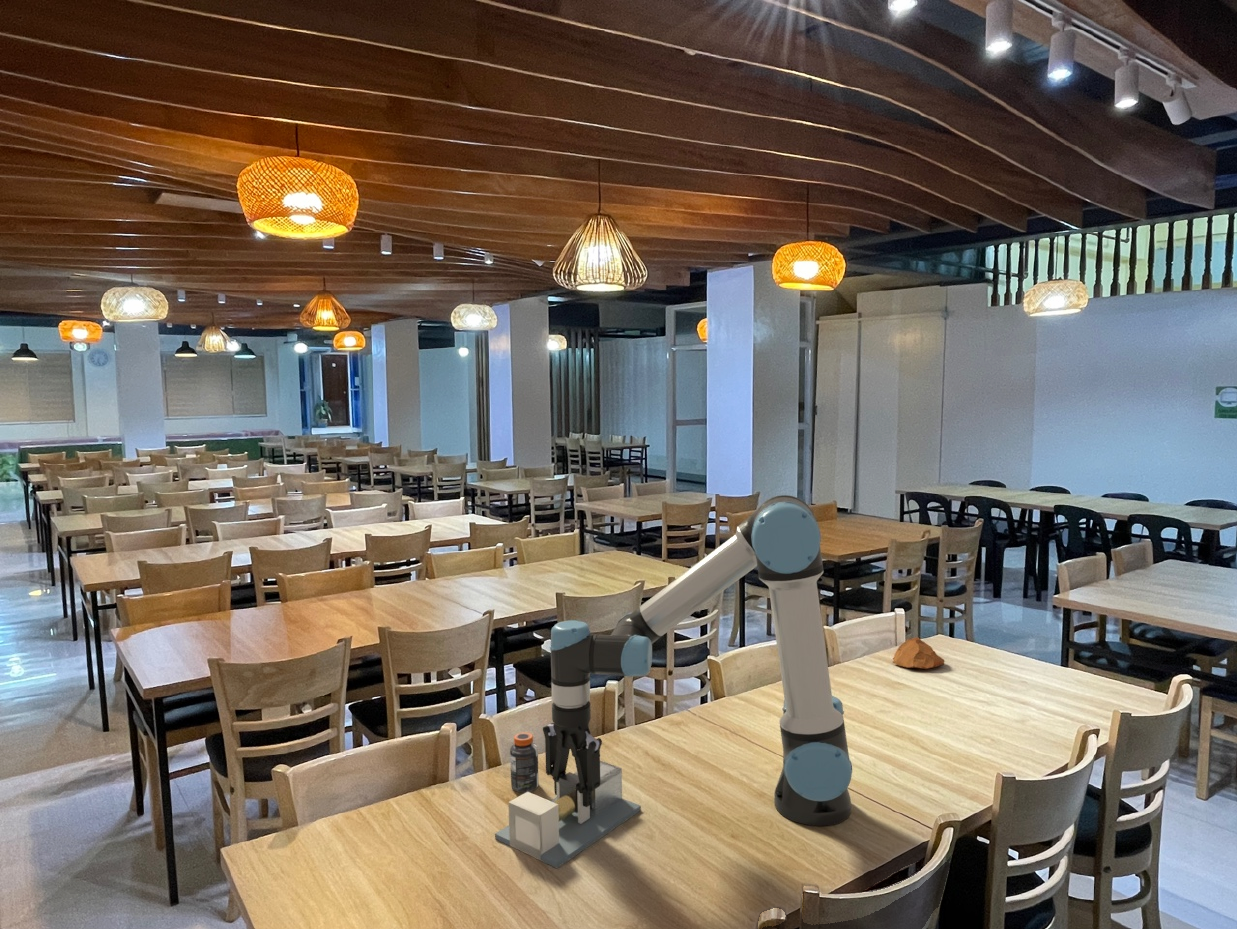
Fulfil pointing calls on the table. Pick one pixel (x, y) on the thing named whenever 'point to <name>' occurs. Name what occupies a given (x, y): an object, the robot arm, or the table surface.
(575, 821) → the board
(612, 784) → the sleeve
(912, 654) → the stone
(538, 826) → the socket
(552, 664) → the robot arm
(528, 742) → the pill bottle
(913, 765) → the table surface
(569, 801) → the brass rod with grip
